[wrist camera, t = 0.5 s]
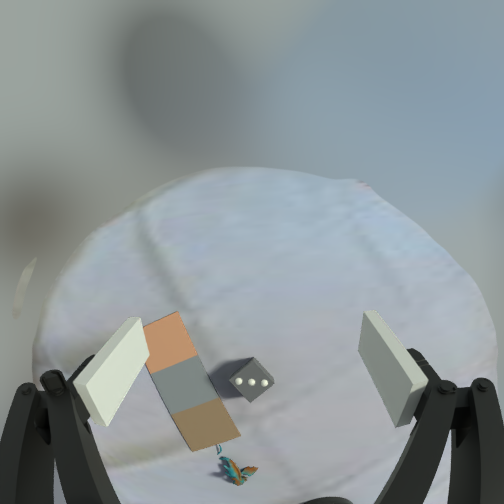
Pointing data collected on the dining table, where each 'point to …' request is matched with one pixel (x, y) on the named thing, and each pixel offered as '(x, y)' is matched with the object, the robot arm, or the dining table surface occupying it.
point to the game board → (186, 385)
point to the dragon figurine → (237, 471)
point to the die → (252, 380)
